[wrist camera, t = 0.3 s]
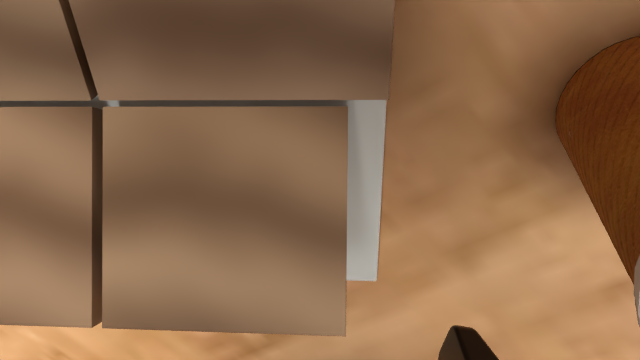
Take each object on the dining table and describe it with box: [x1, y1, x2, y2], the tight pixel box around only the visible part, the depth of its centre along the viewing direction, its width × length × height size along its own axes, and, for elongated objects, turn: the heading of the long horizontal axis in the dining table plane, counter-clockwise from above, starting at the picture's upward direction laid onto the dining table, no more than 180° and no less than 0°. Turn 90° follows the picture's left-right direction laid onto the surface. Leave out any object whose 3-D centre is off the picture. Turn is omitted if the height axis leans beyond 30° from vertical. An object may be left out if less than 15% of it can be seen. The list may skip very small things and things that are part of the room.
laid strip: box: [0, 0, 395, 101], centre depth 20 cm, size 5×26×2 cm, turn 92°
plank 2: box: [102, 106, 348, 336], centre depth 21 cm, size 10×11×1 cm
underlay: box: [0, 95, 387, 281], centre depth 25 cm, size 12×26×1 cm, turn 92°
